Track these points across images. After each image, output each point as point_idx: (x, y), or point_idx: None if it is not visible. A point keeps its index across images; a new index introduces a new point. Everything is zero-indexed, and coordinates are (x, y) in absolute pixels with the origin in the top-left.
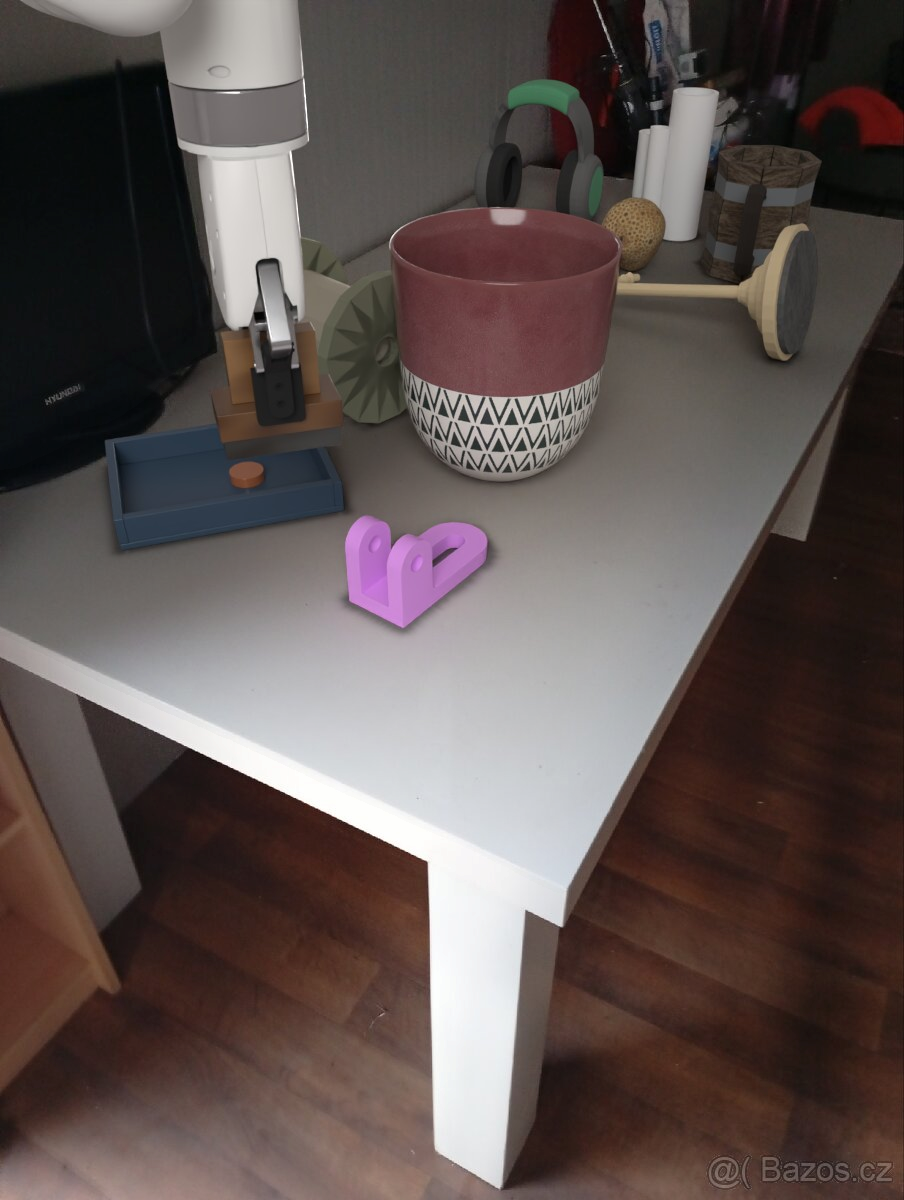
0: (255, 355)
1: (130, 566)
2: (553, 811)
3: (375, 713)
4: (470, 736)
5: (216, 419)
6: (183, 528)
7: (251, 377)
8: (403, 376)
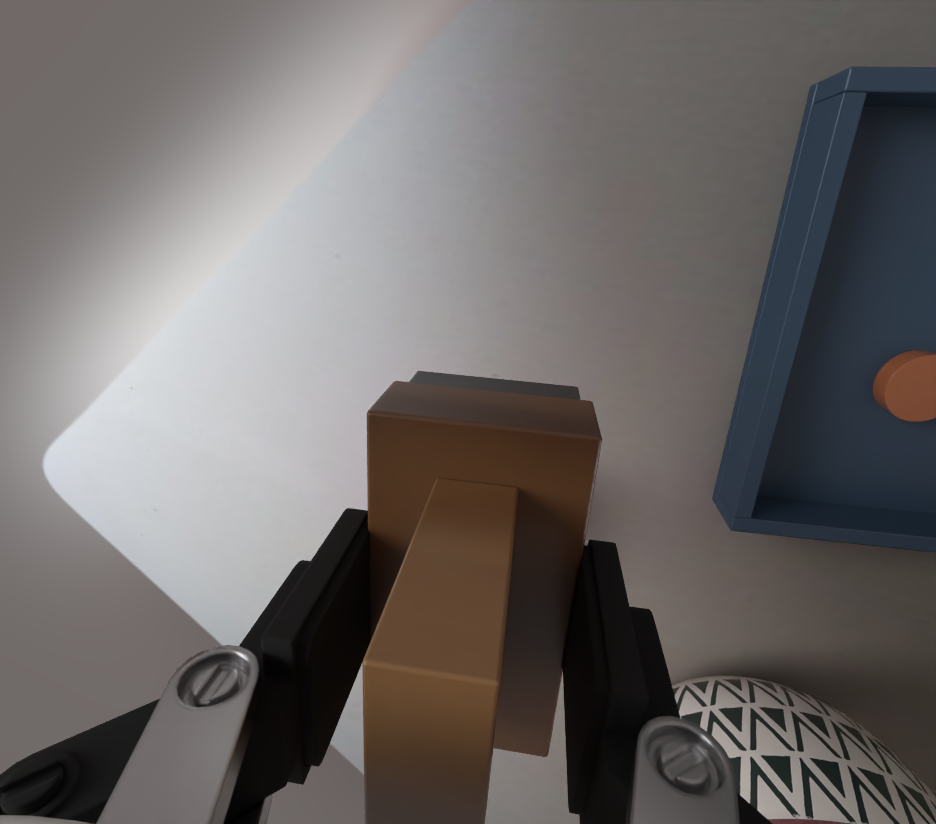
0: (147, 725)
1: (742, 101)
2: (101, 495)
3: (259, 390)
4: (205, 469)
5: (460, 401)
6: (788, 225)
7: (309, 611)
8: (847, 792)
